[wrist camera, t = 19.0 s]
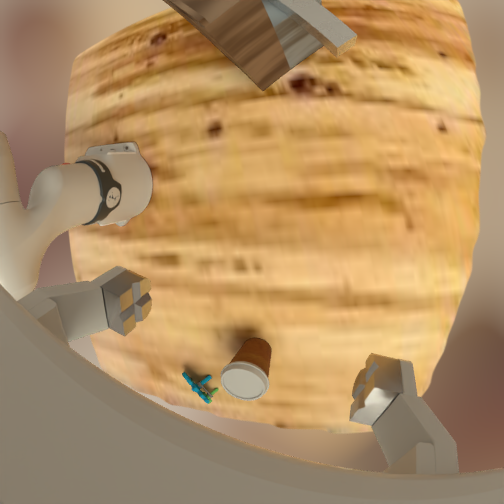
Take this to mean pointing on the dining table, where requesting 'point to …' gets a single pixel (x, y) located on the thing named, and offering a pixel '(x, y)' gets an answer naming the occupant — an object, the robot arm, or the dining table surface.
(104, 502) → the robot arm
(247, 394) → the disposable coffee cup
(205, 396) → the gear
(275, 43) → the stand
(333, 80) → the dining table surface
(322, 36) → the steel bar
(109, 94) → the dining table surface
